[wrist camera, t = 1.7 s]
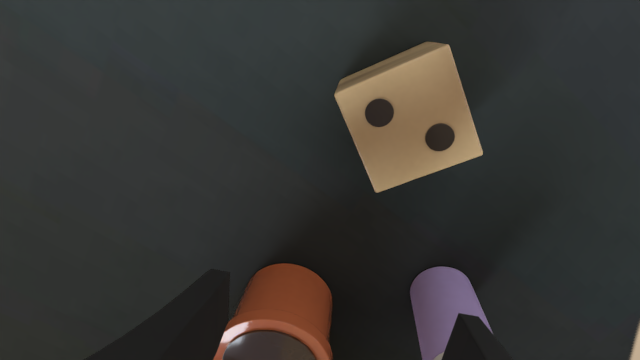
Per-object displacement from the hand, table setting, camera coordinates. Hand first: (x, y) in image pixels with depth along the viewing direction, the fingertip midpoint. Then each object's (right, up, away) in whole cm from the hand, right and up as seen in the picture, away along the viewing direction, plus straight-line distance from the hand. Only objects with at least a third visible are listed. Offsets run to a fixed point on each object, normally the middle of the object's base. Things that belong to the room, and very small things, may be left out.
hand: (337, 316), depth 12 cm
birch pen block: (+3, +8, +7) cm, 11 cm away
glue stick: (+7, -2, +11) cm, 13 cm away
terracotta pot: (-3, -3, +12) cm, 13 cm away
